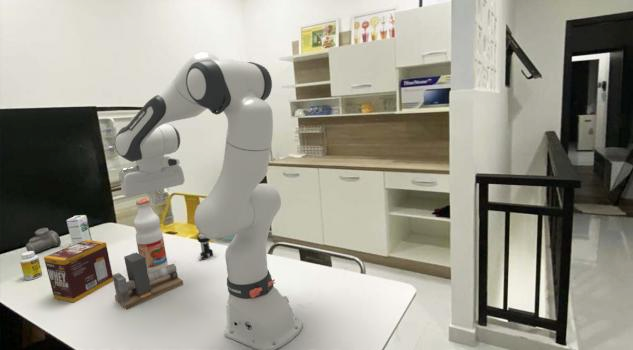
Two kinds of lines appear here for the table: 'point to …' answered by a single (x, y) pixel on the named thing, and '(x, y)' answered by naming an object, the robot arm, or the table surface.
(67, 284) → the supplement box
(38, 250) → the pipe fitting
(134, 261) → the dark grey upright block
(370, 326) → the table surface
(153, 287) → the pipe rig
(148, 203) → the fruit juice
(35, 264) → the supplement bottle
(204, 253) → the push button
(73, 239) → the syrup box
